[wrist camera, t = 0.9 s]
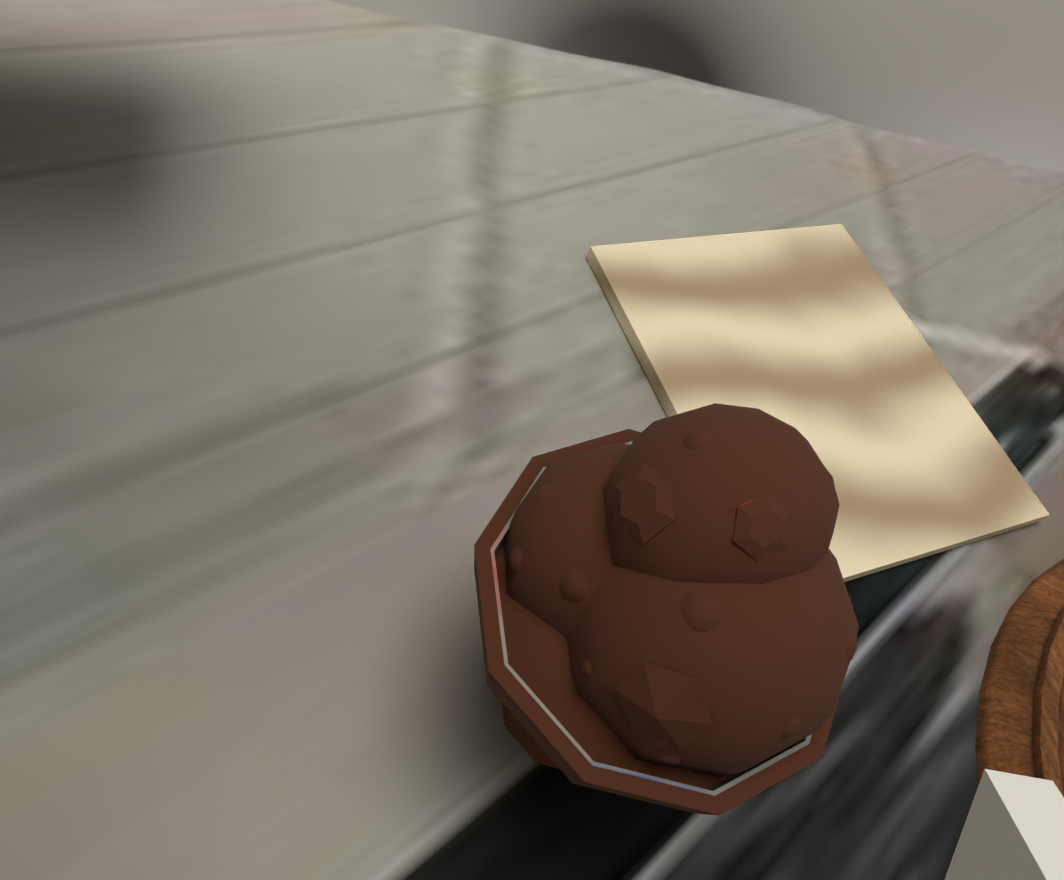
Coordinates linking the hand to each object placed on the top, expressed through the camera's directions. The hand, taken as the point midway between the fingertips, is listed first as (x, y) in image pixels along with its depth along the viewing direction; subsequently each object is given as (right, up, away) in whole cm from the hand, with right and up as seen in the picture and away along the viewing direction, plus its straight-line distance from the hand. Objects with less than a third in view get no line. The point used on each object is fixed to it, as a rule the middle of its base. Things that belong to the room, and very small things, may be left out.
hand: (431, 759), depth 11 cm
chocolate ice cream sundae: (+3, -5, +20) cm, 21 cm away
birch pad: (+15, +7, +32) cm, 36 cm away
